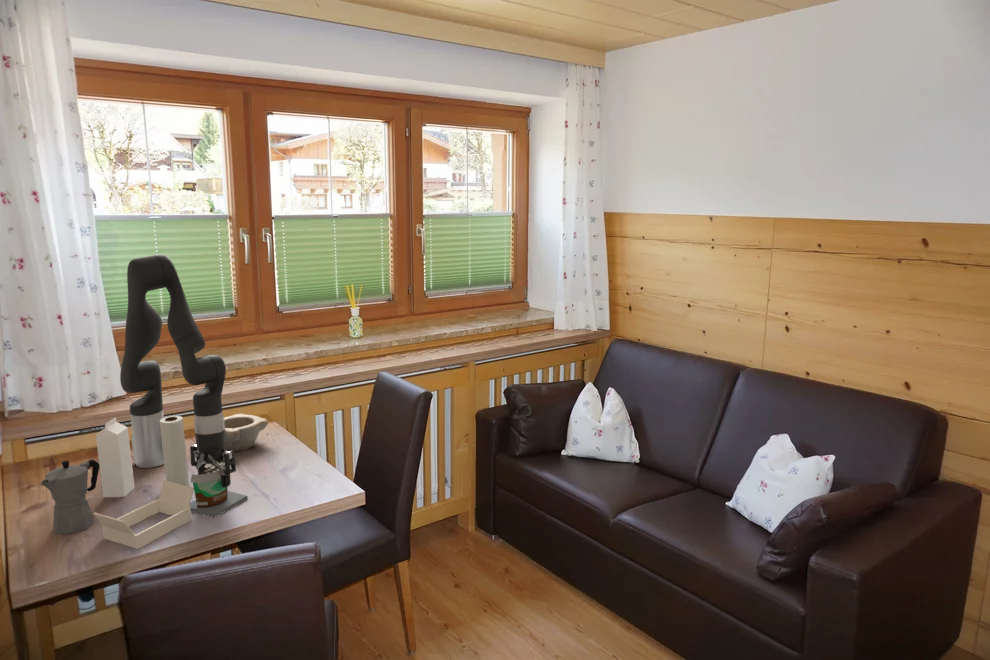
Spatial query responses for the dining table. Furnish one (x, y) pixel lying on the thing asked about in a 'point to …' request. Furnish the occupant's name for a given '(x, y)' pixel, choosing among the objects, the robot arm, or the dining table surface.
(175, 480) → the paper towel roll
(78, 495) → the coffeepot
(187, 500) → the carton
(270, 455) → the dining table surface
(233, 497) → the trivet
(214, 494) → the food container
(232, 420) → the mortar
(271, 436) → the dining table surface
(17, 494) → the dining table surface
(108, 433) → the milk
